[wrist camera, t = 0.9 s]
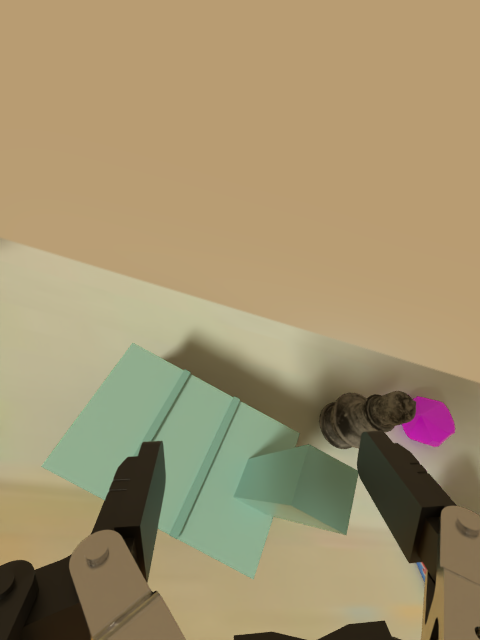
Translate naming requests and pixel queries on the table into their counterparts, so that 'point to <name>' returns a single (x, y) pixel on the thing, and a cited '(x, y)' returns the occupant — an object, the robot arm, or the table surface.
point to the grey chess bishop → (364, 416)
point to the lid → (204, 460)
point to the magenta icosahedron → (430, 422)
